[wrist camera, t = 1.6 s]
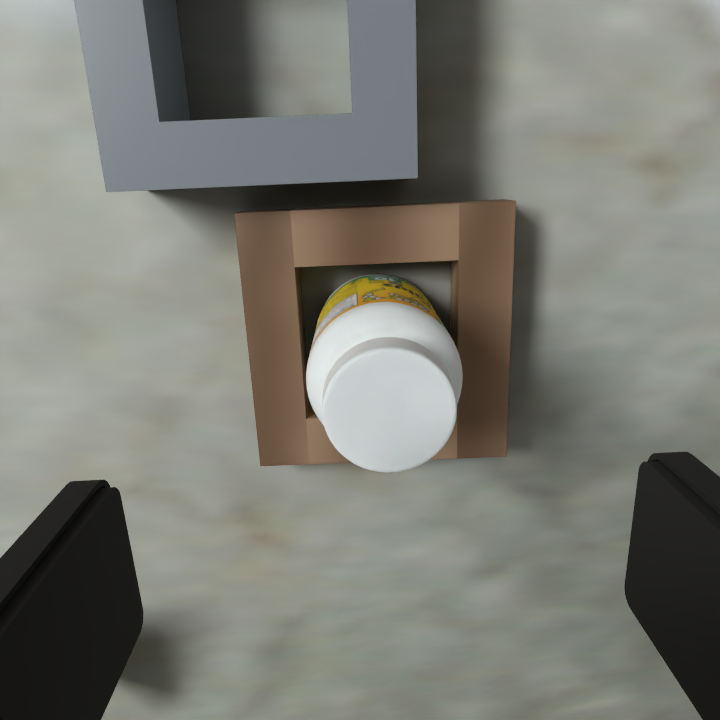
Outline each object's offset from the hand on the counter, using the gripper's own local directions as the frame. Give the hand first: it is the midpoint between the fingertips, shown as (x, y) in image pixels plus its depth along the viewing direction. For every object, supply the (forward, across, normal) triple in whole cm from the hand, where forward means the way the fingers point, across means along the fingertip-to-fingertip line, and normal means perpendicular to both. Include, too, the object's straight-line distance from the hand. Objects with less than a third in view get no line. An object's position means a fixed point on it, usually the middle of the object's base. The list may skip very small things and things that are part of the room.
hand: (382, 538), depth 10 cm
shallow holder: (+16, -1, 0) cm, 16 cm away
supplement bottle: (+16, -1, +1) cm, 16 cm away
